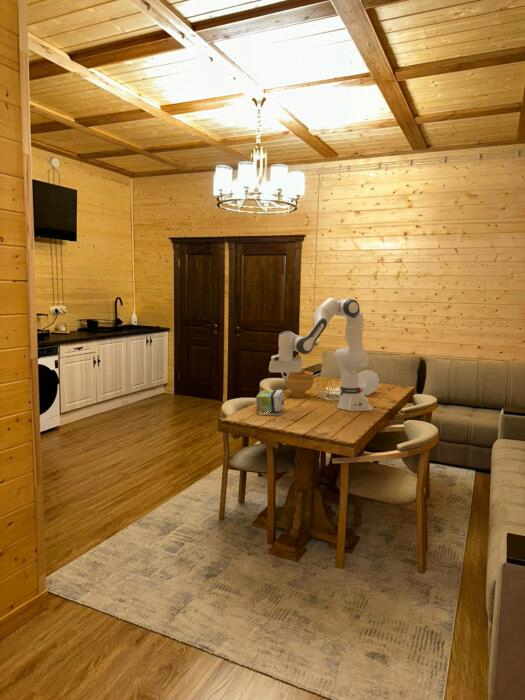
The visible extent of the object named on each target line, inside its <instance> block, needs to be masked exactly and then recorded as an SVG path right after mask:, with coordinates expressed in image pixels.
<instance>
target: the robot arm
mask: <svg viewBox="0 0 525 700" xmlns="http://www.w3.org/2000/svg"><path fill="white" fill-rule="evenodd" d="M335 315H336V316H339V317H340V316H341V317H345V319H346V324H345V332H344V340H345V342H346V343H347V345H348V348H347V347H340V348H338V349H336V350H335V352H334V360H335V362H336V363H337V365H338V367H339V370H340V376H341V377H340V378H341V379H340V382H341V383H340V386H339V399H338V404H337V408H338V409H340V410H344V411H345V410H346V411H349V412H363V411H364V412H365V411H367V412H368V411H373V406H371V405H370V403H369V402H370V401H369V398H367V397H366V395H363V394H361V393H360V392H363V389H362V388H359V387H358V379H359V376H358V372H356V371H357V370H355V368H363V367H366V366H367V365H368V363H369V354H368V353H367V352H366V350H365V349H364V348H365V347H364V345H363V333H364V332H363V331H364V315H363V313H362V312H361V310H360V304H359V303H358V301H357V300H356V299H353V298H342V299H340V298H339V299H336V298H334V297H328V298H327V299H325V300H324V301H322V303H321V304H320V305H319V306H318V307H317V308H316V310H314V312H313V314H312V319H313V320H312V321H313V322H314V325H313V327H312V328H311V330H310V331H309V333H308V334H307V335H306V336H302V335H298V334H295V333H294V332H292V331H291V330H285V331H282V332H280V333H279V336H278V354H275V355H271V357H270V359H271V360H270V361H269V365H268V371H269V373H280V374H281V376H282V380H284V379H288V376H289V374H290V372H301V371H302V368H303V367H302V363H303V359H302V357H301V358H300V357H296V356H294V352H298V353H299V354H300V353H301V354H302V355H309V354H311V352H312V351H313V349H314V347H315V344H316V342H317V340H318V339H319V338H320V336H321V335H322V333H324V331H325V329H326V328H327V325H328V324H329V323H330V321H331V320H332V319H333V317H334V316H335ZM285 372H287V374H286V375H285V374H284V373H285Z"/></svg>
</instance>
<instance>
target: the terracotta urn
mask: <svg viewBox="0 0 525 700" xmlns="http://www.w3.org/2000/svg"><path fill="white" fill-rule="evenodd" d="M295 357H300V358H301V359H302V356H301V355H298V354H296V356H295ZM284 373H285V374H286V375H287V372H284ZM313 375H314V372H311V371H307V370H305V369H304V368H303V367H302V371H301V372H290V374H289V376H288V379H283V381H284V384H285V386H286V387H287V389H288V390H290V391H291V392H292V393H291V395H290V396H291V397H292V396H293V398H306V392H308V391H309V390H311V388H312V387H313V384H314V380H315V379H314V378H313Z"/></svg>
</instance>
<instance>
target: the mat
mask: <svg viewBox="0 0 525 700" xmlns="http://www.w3.org/2000/svg"><path fill="white" fill-rule="evenodd" d="M255 408H257V406H255ZM258 412H259V411H258ZM261 412H262V411H261ZM261 412H260V413H261ZM264 412H265V411H263V412H262V413H264ZM266 412H267V411H266ZM266 412H265V413H266ZM269 412H270V411H269ZM269 412H268V414H262V413H261V414H259V415H269V414H270V415H283V414H284V413H283V412H282V409H281V410H280V411H271V412H270V413H269ZM283 416H284V415H283Z"/></svg>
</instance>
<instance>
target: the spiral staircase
mask: <svg viewBox="0 0 525 700" xmlns="http://www.w3.org/2000/svg"><path fill="white" fill-rule="evenodd" d="M357 374H358V376H359V379H358V387H359V388H362V389H363V392H360V393H361V394H363V395H364V396H369V395H370V394H373V393H375V391H376V390H377V389H378V388H379V387H380V380H381V379H380V378H379V376H378V373H376V372H374V371H373V370H372V369H371V370H367V369H365V370H362V371H359V372H357Z"/></svg>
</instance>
